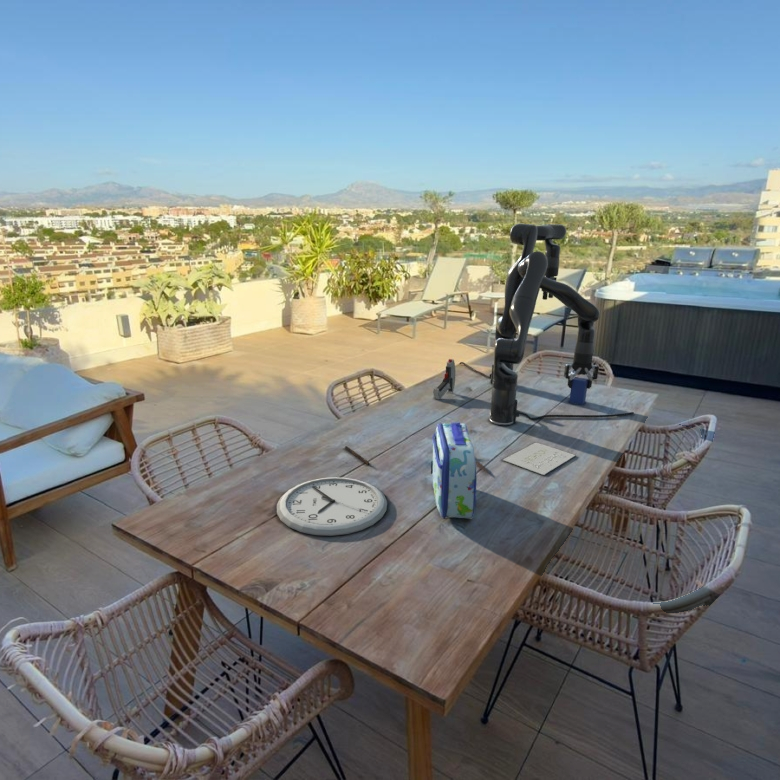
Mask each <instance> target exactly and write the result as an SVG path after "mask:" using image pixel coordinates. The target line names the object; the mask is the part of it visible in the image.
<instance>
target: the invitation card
mask: <svg viewBox="0 0 780 780" xmlns="http://www.w3.org/2000/svg"><path fill="white" fill-rule="evenodd" d="M576 456H577V455H576V454H573V453H570V452H567V451H565V450H561V449H558V448H555V447H552V446H549V445H546V444H543V443H539V442H534V443H532V444H529V445H528V446H526V447H524V448H522V449H520V450H518V451H516V452H514V453H512V454H510V455H509V456H507V457H505V458H503V459H502V461H503V462H506V463H509V464H511V465H514V466H518V467H520V468H523V469H525V470H528V471H531V472H534V473H536V474H539V475H541V476H545V475H547V474H548V473H550V472H552V471H554V469H556V468H558V467H559V466H561V465H563V464H564V463H566V462H568V461H570V460H571V459H572V458H574V457H576Z"/></svg>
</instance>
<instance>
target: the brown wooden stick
mask: <svg viewBox="0 0 780 780" xmlns="http://www.w3.org/2000/svg"><path fill="white" fill-rule="evenodd" d="M344 449H345V450H346V451H348V452H349V453H350V454H352V455H353V456H355V457H356V458H358V459H359V460H361V461H362V462H363V463H364V464H366V465H370V461H368V460H367V459H366V458H364V457H363V456H361V455H360V454H358V453H357V452H356V451H354V450H353V449H352V448H350V447H348V446H347V445H345V446H344Z"/></svg>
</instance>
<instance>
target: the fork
mask: <svg viewBox="0 0 780 780" xmlns="http://www.w3.org/2000/svg"><path fill="white" fill-rule="evenodd" d="M475 461H476V466H477V467H479V468H480V469H481V470H482V471H483V472H485V473H486V474H488V470H486V468H485V467H484V466H483V464H482V463H480V462H479V461H477V460H476V459H475Z"/></svg>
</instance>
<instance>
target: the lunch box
mask: <svg viewBox="0 0 780 780" xmlns="http://www.w3.org/2000/svg"><path fill="white" fill-rule="evenodd" d="M467 427H468V426H467V424H466V423H461V422H450V423H441V422H439V423H437V424H436V428H435V433H433V435H432V460H431V461H430V465H431V466H430V474H431V475H432V488H433V492H434V501H435V505H436V508H437V511H438V513H439V515H440V517H441V518H442V519H445V520H446V518H458V519H469V520H470V519H472V518H473V517H474V515H475V511H476V501H477V479H478V477H477V476H478V475H477V464H476V461H477V460H476V456H475V449H474V446H473V445H474V444H473V442H472V440H471V438H470V435H469V431H468V428H467ZM475 460H476V461H475Z"/></svg>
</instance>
